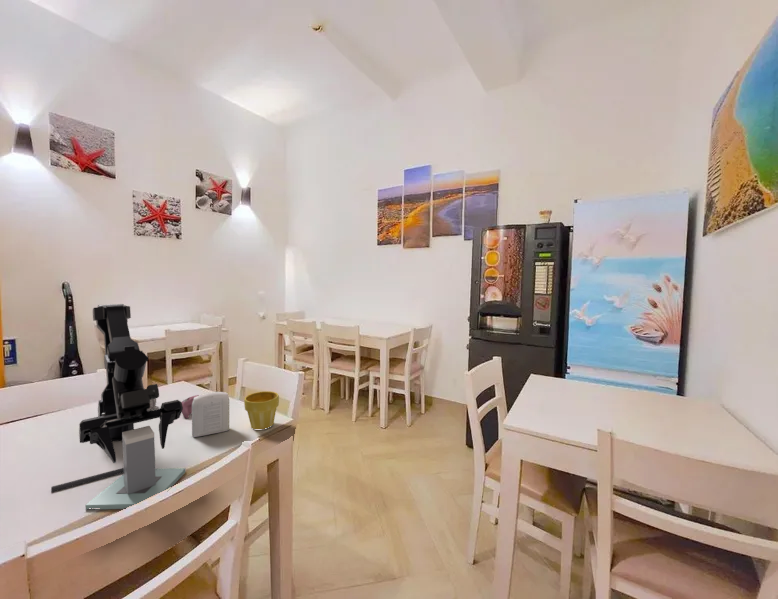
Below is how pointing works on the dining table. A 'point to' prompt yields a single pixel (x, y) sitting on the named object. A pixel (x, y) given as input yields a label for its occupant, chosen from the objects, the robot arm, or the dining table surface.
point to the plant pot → (261, 408)
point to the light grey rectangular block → (138, 459)
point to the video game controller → (187, 406)
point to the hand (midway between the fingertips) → (140, 454)
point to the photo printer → (210, 413)
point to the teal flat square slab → (119, 498)
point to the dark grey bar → (87, 479)
